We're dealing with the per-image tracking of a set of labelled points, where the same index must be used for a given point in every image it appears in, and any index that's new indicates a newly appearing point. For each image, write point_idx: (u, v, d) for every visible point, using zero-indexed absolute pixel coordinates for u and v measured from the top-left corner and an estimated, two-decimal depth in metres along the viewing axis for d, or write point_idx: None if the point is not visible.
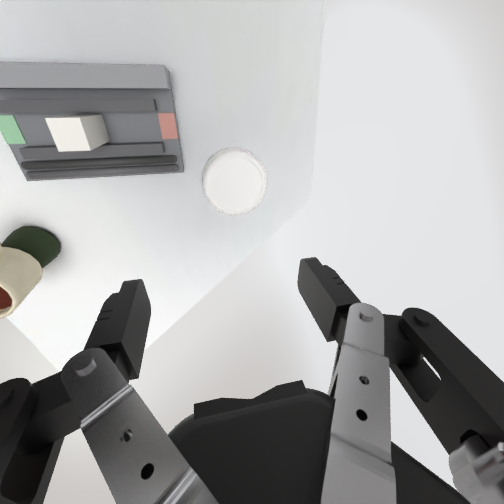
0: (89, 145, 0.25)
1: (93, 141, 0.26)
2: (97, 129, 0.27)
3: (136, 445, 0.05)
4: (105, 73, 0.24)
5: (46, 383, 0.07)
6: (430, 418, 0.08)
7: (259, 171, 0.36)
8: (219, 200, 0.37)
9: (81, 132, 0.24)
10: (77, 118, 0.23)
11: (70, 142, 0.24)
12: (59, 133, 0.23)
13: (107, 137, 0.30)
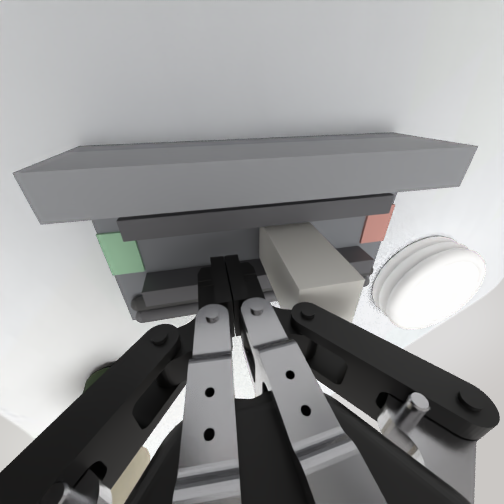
0: (352, 318, 0.12)
1: None
2: None
3: (211, 406, 0.06)
4: (367, 169, 0.11)
5: (180, 331, 0.09)
6: (348, 395, 0.08)
7: (479, 275, 0.23)
8: (406, 315, 0.24)
9: (353, 302, 0.11)
10: (359, 280, 0.10)
11: None
12: None
13: None
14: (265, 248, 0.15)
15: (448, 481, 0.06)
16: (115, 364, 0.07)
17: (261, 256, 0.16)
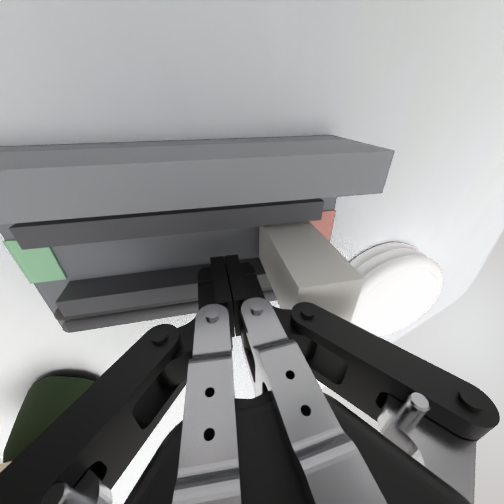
0: (351, 317, 0.12)
1: None
2: None
3: (211, 406, 0.06)
4: (271, 175, 0.10)
5: (180, 331, 0.09)
6: (348, 395, 0.08)
7: (437, 282, 0.22)
8: (363, 324, 0.23)
9: (352, 301, 0.11)
10: (358, 279, 0.10)
11: None
12: None
13: None
14: (265, 247, 0.15)
15: (448, 481, 0.06)
16: (115, 364, 0.07)
17: (261, 255, 0.16)
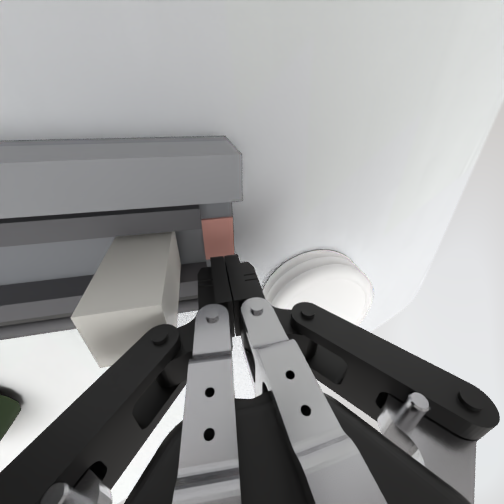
0: None
1: (174, 317, 0.11)
2: (173, 272, 0.13)
3: (212, 406, 0.06)
4: (90, 180, 0.09)
5: (180, 331, 0.09)
6: (348, 395, 0.08)
7: (365, 292, 0.21)
8: None
9: None
10: (155, 305, 0.09)
11: None
12: (106, 338, 0.09)
13: (179, 263, 0.15)
14: None
15: (448, 481, 0.06)
16: (115, 364, 0.07)
17: None
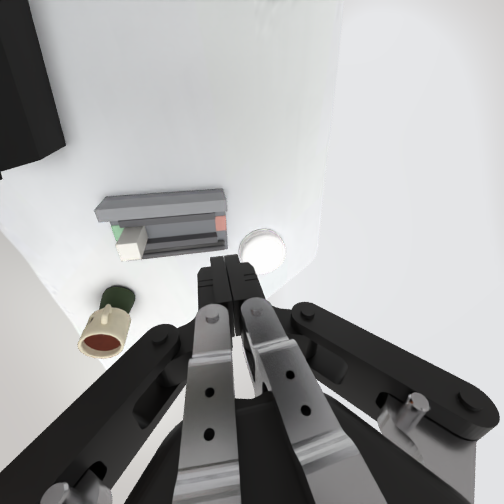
0: (140, 256, 0.38)
1: (142, 250, 0.39)
2: (142, 238, 0.40)
3: (212, 406, 0.06)
4: (190, 207, 0.39)
5: (180, 331, 0.09)
6: (348, 395, 0.08)
7: (281, 246, 0.50)
8: None
9: (136, 250, 0.37)
10: (135, 243, 0.36)
11: (129, 256, 0.37)
12: (123, 251, 0.37)
13: (147, 237, 0.43)
14: None
15: (448, 481, 0.06)
16: (115, 364, 0.07)
17: None
